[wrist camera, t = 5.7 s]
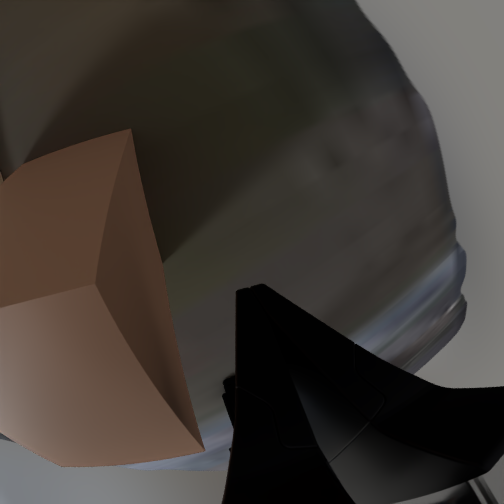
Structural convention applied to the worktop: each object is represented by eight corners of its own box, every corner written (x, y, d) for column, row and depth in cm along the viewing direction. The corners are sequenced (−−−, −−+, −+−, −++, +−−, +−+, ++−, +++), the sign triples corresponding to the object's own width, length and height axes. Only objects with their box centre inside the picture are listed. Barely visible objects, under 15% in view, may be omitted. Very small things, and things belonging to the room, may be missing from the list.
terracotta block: (131, 128, 12) (95, 284, 3) (162, 263, 16) (205, 451, 8) (22, 164, 10) (-103, 335, 2) (72, 286, 15) (61, 466, 7)
